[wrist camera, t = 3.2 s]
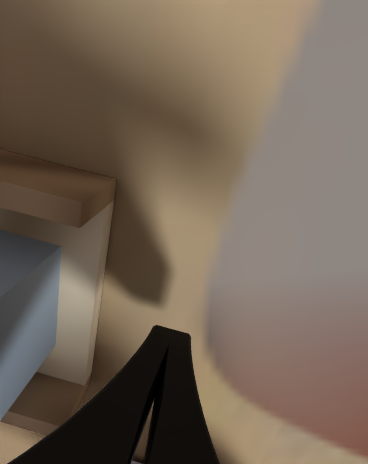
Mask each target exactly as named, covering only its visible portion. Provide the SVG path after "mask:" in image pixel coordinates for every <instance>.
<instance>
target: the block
mask: <svg viewBox="0 0 368 464" xmlns="http://www.w3.org/2000/svg"><path fill="white" fill-rule="evenodd" d="M61 247H62V246H59V245H55V244H52V243H48V242H44V241H41V240H37V239H33V238H29V237H26V236H22V235H18V234H15V233H11V232H7V231H3V230H0V420H1V419H2V418H3V417H4V415H5V414H6V412H7V411H8V410H9V408H10V407H11V406H12V404H13V403H14V401H15V400H16V399H17V397H18V396H19V395H20V393H21V392H22V391H23V389H24V388H25V386H26V385H27V384H28V382H29V381H30V380H31V378H32V377H33V375H34V374H35V373H36V371H37V370H38V369H39V367H40V366H41V364H42V363H43V362H44V360H45V359H46V358H47V356H48V355H49V354H50V352H51V351H52V349H53V348H54V347H55V345H56V330H57V314H58V297H59V280H60V264H61Z"/></svg>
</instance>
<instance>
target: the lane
mask: <svg viewBox="0 0 368 464" xmlns="http://www.w3.org/2000/svg"><path fill="white" fill-rule="evenodd" d="M116 182H117V179H114V178H110V177H106V176H102V175H98V174H94V173H90V172H87V171H83V170H79V169H75V168H71V167H67V166H63V165H59V164H55V163H52V162H48V161H44V160H40V159H36V158H32V157H28V156H24V155H20V154H17V153H13V152H9V151H5V150H1V149H0V230H3V231H7V232H11V233H15V234H18V235H22V236H26V237H29V238H33V239H37V240H41V241H44V242H48V243H52V244H55V245H59V246H62V247H61V264H60V280H59V297H58V314H57V330H56V345H55V347H54V348H53V349H52V351H51V352H50V354H49V355H48V356H47V358H46V359H45V360H44V362H43V363H42V364H41V366H40V367H39V369H38V370H37V371H36V373H35V374H34V375H33V377H32V378H31V380H30V381H29V382H28V384H27V385H26V386H25V388H24V389H23V391H22V392H21V393H20V395H19V396H18V397H17V399H16V400H15V401H14V403H13V404H12V406H11V407H10V408H9V410H8V411H7V412H6V414H5V415H4V417H3V418H2V419H1V420H0V421H1V422H4V423H8V424H11V425H14V426H18V427H21V428H24V429H28V430H31V431H35V432H38V433H41V434H45V435H49V434H50V433H52V432H53V431H54V430H56V429H57V428H58V427H60V426H61V425H62V424H63V423H65V422H66V421H67V420H68V419H70V418H71V417H72V416H73V415H74V414H75V412H76V410H77V408H78V406H79V404H80V402H81V400H82V398H83V396H84V394H85V392H86V390H87V388H88V386H89V384H90V380H91V372H92V365H93V357H94V350H95V342H96V334H97V327H98V319H99V311H100V304H101V296H102V288H103V281H104V273H105V266H106V258H107V250H108V243H109V235H110V227H111V220H112V212H113V204H114V197H115V189H116Z"/></svg>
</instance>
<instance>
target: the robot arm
mask: <svg viewBox="0 0 368 464" xmlns="http://www.w3.org/2000/svg"><path fill="white" fill-rule="evenodd" d="M154 398H155V399H154ZM153 401H154V405H153V411H152V417H151V422H150V428H149V434H148V440H147V446H146V452H145V458H144V464H220V463H219V460H218V458H217V455H216V452H215V449H214V447H213V444H212V441H211V438H210V435H209V431H208V428H207V425H206V422H205V418H204V415H203V411H202V407H201V403H200V399H199V395H198V391H197V385H196V380H195V375H194V370H193V363H192V354H191V337H190V335H189V334H187V333H184V332H180V331H177V330H173V329H169V328H166V327H162V326H159V325H156V326H153V328H152V330H151V332H150V333H149V335H148V337H147V338H146V340H145V341H144V342H143V344H142V345H141V346H140V348H139V349H138V350H137V352H136V353H135V354H134V355H133V357H132V358H131V359H130V360H129V361H128V363H127V364H126V365H125V366H124V367H123V368H122V369H121V371H120V372H119V373H118V374H117V375H116V376H115V377H114V378H113V379H112V380H111V381H110V382H109V383H108V384H107V385H106V386H105V387H104V388H103V389H102V390H101V391H100V392H99V393H98V394H97V395H96V396H95V397H94V398H93V399H92V400H90V401H89V402H88V403H87V404H86V405H85V406H84V407H83V408H81V409H80V410H79V411H78V412H77V413H75V414H74V415H73V416H72V417H71V418H70V419H68V420H67V421H66V422H65V423H63V424H62V425H61V426H60V427H58V428H57V429H56V430H54V431H53V432H52V433H50V434H49V435H48V436H46V437H45V438H44V439H42V440H41V441H39V442H38V443H37V444H35V445H34V446H33V447H31V448H30V449H28V450H27V451H26V452H24V453H23V454H21V455H20V456H18V457H17V458H15V459H14V460H12V461H11V462H9V463H8V464H142V463H139V462H136V461H132V459H133V457H134V454H135V451H136V448H137V445H138V443H139V440H140V437H141V434H142V431H143V429H144V426H145V423H146V420H147V418H148V415H149V412H150V409H151V406H152V404H153Z"/></svg>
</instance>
